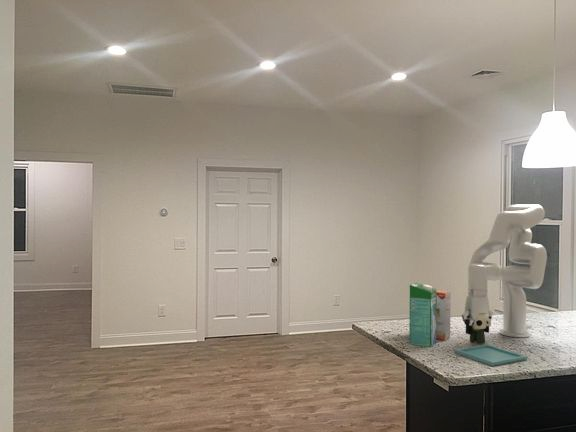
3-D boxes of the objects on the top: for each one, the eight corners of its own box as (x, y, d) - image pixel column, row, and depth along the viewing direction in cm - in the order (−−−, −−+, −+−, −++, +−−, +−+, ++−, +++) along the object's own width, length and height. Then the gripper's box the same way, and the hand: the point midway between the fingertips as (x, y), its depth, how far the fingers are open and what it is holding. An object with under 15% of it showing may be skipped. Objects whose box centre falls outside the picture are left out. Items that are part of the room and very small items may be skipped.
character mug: (461, 342, 198) (461, 312, 198) (467, 339, 203) (467, 309, 203) (488, 347, 191) (488, 315, 191) (493, 343, 196) (493, 313, 196)
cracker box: (415, 335, 210) (415, 289, 210) (421, 333, 214) (421, 287, 214) (444, 341, 200) (445, 292, 200) (450, 338, 205) (450, 291, 205)
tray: (487, 348, 190) (487, 344, 190) (526, 360, 174) (526, 356, 174) (454, 353, 182) (454, 349, 182) (492, 366, 166) (492, 362, 166)
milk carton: (430, 347, 191) (431, 286, 191) (409, 343, 196) (409, 284, 196) (436, 342, 198) (436, 283, 199) (415, 339, 203) (415, 282, 203)
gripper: (485, 290, 204) (484, 329, 204) (455, 293, 197) (455, 333, 197) (499, 293, 198) (499, 333, 197) (469, 295, 190) (469, 337, 190)
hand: (477, 333), depth 197 cm, fingers open, 9 cm apart
